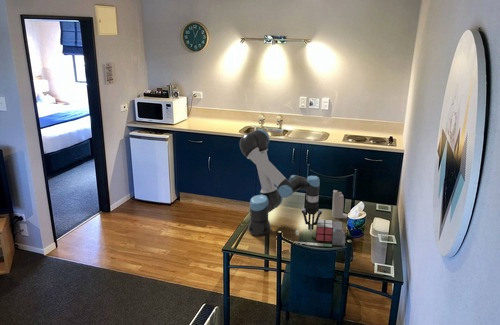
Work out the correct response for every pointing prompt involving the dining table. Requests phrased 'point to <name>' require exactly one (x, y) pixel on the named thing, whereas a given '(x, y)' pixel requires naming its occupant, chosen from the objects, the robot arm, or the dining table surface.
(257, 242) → the dining table surface
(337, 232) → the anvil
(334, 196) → the beige l-shaped block
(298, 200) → the dining table surface
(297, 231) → the dining table surface
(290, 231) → the dining table surface
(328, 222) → the puzzle cube
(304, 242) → the scale strip
